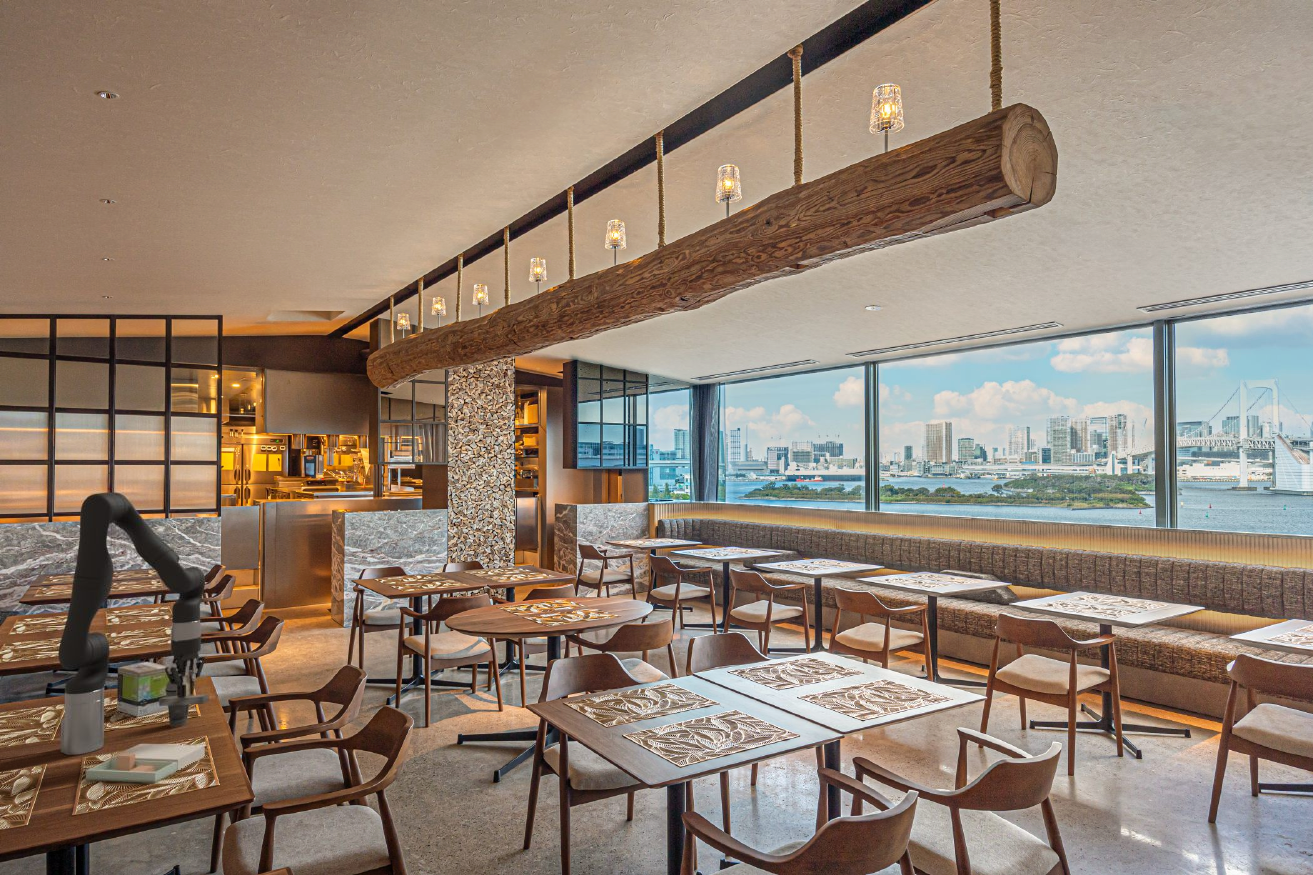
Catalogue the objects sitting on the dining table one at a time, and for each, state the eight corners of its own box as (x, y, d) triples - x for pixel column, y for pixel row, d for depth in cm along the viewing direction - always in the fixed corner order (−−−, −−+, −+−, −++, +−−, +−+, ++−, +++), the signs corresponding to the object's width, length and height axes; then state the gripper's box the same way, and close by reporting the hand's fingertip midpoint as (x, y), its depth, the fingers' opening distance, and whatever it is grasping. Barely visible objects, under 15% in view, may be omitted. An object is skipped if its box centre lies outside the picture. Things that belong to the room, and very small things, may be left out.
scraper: (159, 705, 219) (157, 671, 220) (165, 703, 222) (164, 669, 222) (203, 703, 218) (201, 669, 218) (209, 701, 220) (207, 666, 221)
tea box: (169, 709, 255) (170, 665, 256) (136, 717, 247) (137, 672, 247) (148, 702, 263) (149, 660, 264) (115, 710, 255) (116, 666, 255)
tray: (85, 779, 197) (86, 770, 197) (110, 768, 204) (110, 759, 204) (155, 782, 194) (155, 772, 194) (177, 770, 202) (177, 761, 202)
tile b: (140, 765, 200) (140, 772, 200) (128, 771, 196) (127, 778, 196) (153, 765, 200) (153, 772, 200) (141, 771, 196) (141, 778, 196)
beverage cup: (178, 729, 235) (179, 664, 236) (158, 728, 236) (159, 664, 237) (197, 721, 242) (198, 659, 243) (178, 720, 244) (178, 658, 244)
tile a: (121, 768, 203) (116, 770, 201) (122, 753, 203) (116, 755, 202) (135, 768, 203) (129, 771, 201) (135, 753, 203) (129, 756, 201)
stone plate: (111, 768, 205) (111, 756, 205) (140, 754, 214) (140, 743, 215) (177, 770, 202) (178, 759, 202) (204, 756, 212) (204, 745, 212)
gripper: (191, 631, 228) (191, 688, 227) (155, 641, 214) (155, 702, 213) (214, 631, 227) (214, 689, 226) (179, 641, 213) (179, 703, 213)
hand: (185, 695), depth 220 cm, fingers closed on scraper, 2 cm apart
